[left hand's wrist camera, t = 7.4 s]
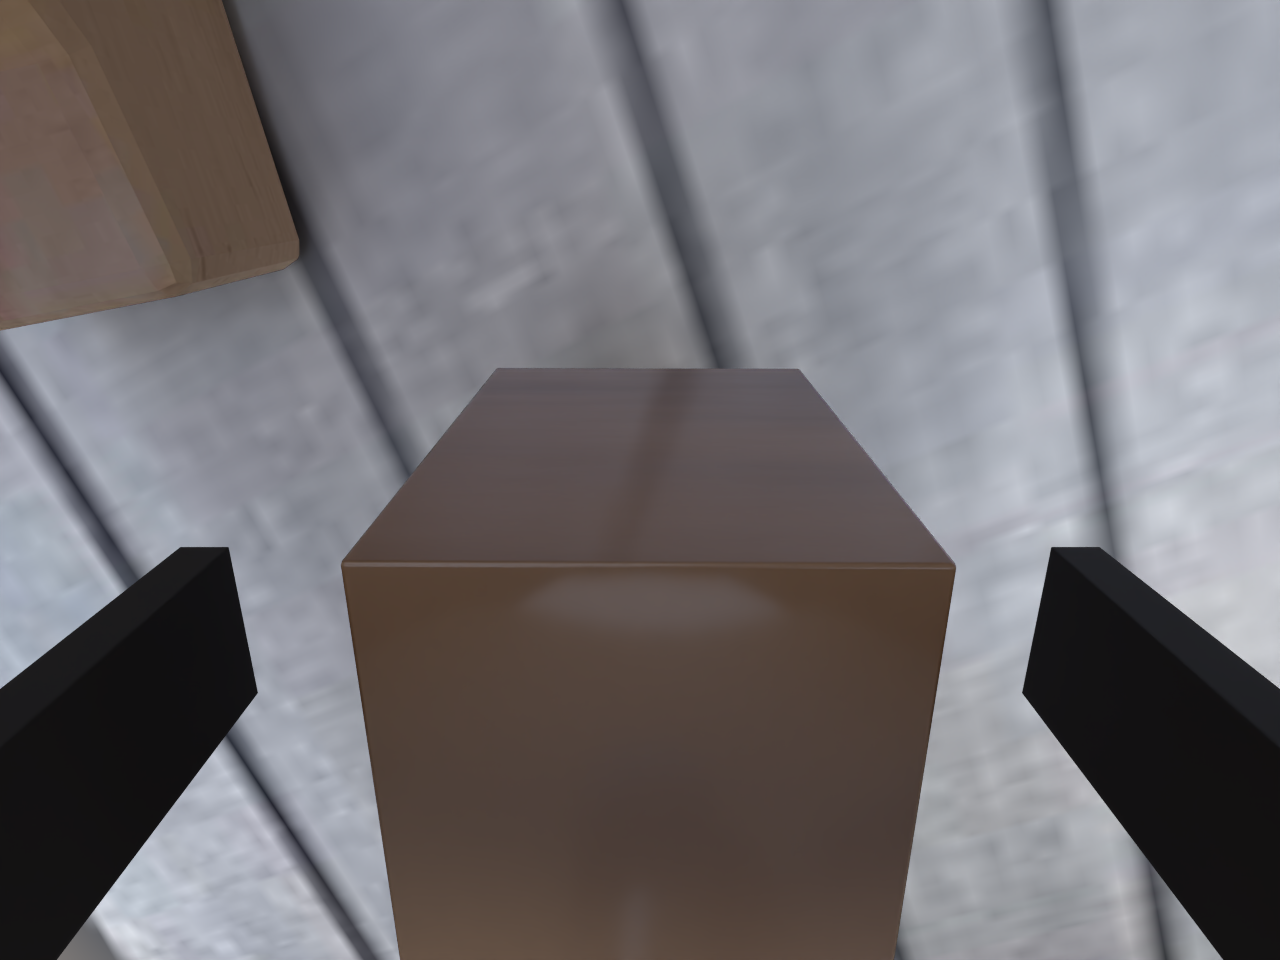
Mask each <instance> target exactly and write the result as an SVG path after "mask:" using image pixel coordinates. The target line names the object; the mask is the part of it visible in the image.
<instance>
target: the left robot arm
mask: <svg viewBox="0 0 1280 960" xmlns="http://www.w3.org/2000/svg"><path fill="white" fill-rule="evenodd" d="M257 693H258V692H257V687H256V682H255V677H254V672H253V667H252V662H251V657H250V652H249V647H248V642H247V637H246V632H245V627H244V622H243V617H242V612H241V607H240V602H239V597H238V592H237V587H236V582H235V577H234V572H233V567H232V562H231V557H230V552H229V547H180V548H179V549H178V550H176V551H175V552H174V553H173V554H171V555H170V556H169V557H167V558H166V559H165V560H164V561H162V562H161V563H160V564H159V565H157V566H156V567H155V568H153V569H152V570H151V571H150V572H148V573H147V574H146V575H145V576H143V577H142V578H141V579H139V580H138V581H137V582H136V583H134V584H133V585H132V586H131V587H129V588H128V589H127V590H125V591H124V592H123V593H122V594H120V595H119V596H118V597H117V598H115V599H114V600H113V601H111V602H110V603H109V604H108V605H106V606H105V607H104V608H103V609H101V610H100V611H99V612H98V613H96V614H95V615H94V616H92V617H91V618H90V619H89V620H87V621H86V622H85V623H84V624H82V625H81V626H80V627H78V628H77V629H76V630H75V631H73V632H72V633H71V634H70V635H68V636H67V637H66V638H64V639H63V640H62V641H61V642H59V643H58V644H57V645H56V646H54V647H53V648H52V649H50V650H49V651H48V652H47V653H45V654H44V655H43V656H42V657H40V658H39V659H38V660H37V661H35V662H34V663H33V664H31V665H30V666H29V667H28V668H26V669H25V670H24V671H23V672H21V673H20V674H19V675H17V676H16V677H15V678H14V679H12V680H11V681H10V682H9V683H7V684H6V685H5V686H3V687H2V688H1V689H0V960H57V959H58V957H59V956H60V955H61V953H62V952H63V951H64V949H65V948H66V947H67V945H68V944H69V943H70V941H71V940H72V939H73V937H74V936H75V935H76V933H77V932H78V931H79V929H80V928H81V927H82V925H83V924H84V923H85V922H86V920H87V919H88V918H89V916H90V915H91V914H92V912H93V911H94V910H95V908H96V907H97V906H98V904H99V903H100V902H101V900H102V899H103V898H104V896H105V895H106V894H107V892H108V891H109V890H110V888H111V887H112V886H113V884H114V883H115V882H116V880H117V879H118V878H119V876H120V875H121V874H122V872H123V871H124V870H125V868H126V867H127V866H128V864H129V863H130V862H131V860H132V859H133V858H134V856H135V855H136V854H137V853H138V851H139V850H140V849H141V847H142V846H143V845H144V843H145V842H146V841H147V839H148V838H149V837H150V835H151V834H152V833H153V831H154V830H155V829H156V827H157V826H158V825H159V823H160V822H161V821H162V819H163V818H164V817H165V815H166V814H167V813H168V811H169V810H170V809H171V807H172V806H173V805H174V803H175V802H176V801H177V799H178V798H179V797H180V795H181V794H182V793H183V791H184V790H185V789H186V787H187V786H188V785H189V784H190V782H191V781H192V780H193V778H194V777H195V776H196V774H197V773H198V772H199V770H200V769H201V768H202V766H203V765H204V764H205V762H206V761H207V760H208V758H209V757H210V756H211V754H212V753H213V752H214V750H215V749H216V748H217V746H218V745H219V744H220V742H221V741H222V740H223V738H224V737H225V736H226V734H227V733H228V732H229V730H230V729H231V728H232V726H233V725H234V724H235V722H236V721H237V720H238V718H239V717H240V716H241V715H242V713H243V712H244V711H245V709H246V708H247V707H248V705H249V704H250V703H251V701H252V700H253V699H254V697H255V696H256V695H257ZM1022 693H1023V695H1024V696H1025V697H1026V699H1027V700H1028V701H1029V703H1030V704H1031V705H1032V707H1033V708H1034V709H1035V711H1036V712H1037V713H1038V715H1039V716H1040V717H1041V718H1042V720H1043V721H1044V722H1045V724H1046V725H1047V726H1048V728H1049V729H1050V730H1051V732H1052V733H1053V734H1054V736H1055V737H1056V738H1057V740H1058V741H1059V742H1060V744H1061V745H1062V746H1063V748H1064V749H1065V750H1066V752H1067V753H1068V754H1069V756H1070V757H1071V758H1072V760H1073V761H1074V762H1075V764H1076V765H1077V766H1078V768H1079V769H1080V770H1081V772H1082V773H1083V774H1084V776H1085V777H1086V778H1087V780H1088V781H1089V782H1090V784H1091V785H1092V786H1093V787H1094V789H1095V790H1096V791H1097V793H1098V794H1099V795H1100V797H1101V798H1102V799H1103V801H1104V802H1105V803H1106V805H1107V806H1108V807H1109V809H1110V810H1111V811H1112V813H1113V814H1114V815H1115V817H1116V818H1117V819H1118V821H1119V822H1120V823H1121V825H1122V826H1123V827H1124V829H1125V830H1126V831H1127V833H1128V834H1129V835H1130V837H1131V838H1132V839H1133V841H1134V842H1135V843H1136V845H1137V846H1138V847H1139V849H1140V850H1141V851H1142V853H1143V854H1144V855H1145V856H1146V858H1147V859H1148V860H1149V862H1150V863H1151V864H1152V866H1153V867H1154V868H1155V870H1156V871H1157V872H1158V874H1159V875H1160V876H1161V878H1162V879H1163V880H1164V882H1165V883H1166V884H1167V886H1168V887H1169V888H1170V890H1171V891H1172V892H1173V894H1174V895H1175V896H1176V898H1177V899H1178V900H1179V902H1180V903H1181V904H1182V906H1183V907H1184V908H1185V910H1186V911H1187V912H1188V914H1189V915H1190V916H1191V918H1192V919H1193V920H1194V922H1195V923H1196V924H1197V925H1198V927H1199V928H1200V929H1201V931H1202V932H1203V933H1204V935H1205V936H1206V937H1207V939H1208V940H1209V941H1210V943H1211V944H1212V945H1213V947H1214V948H1215V949H1216V951H1217V952H1218V953H1219V955H1220V956H1221V957H1222V959H1223V960H1280V689H1279V688H1278V687H1277V686H1275V685H1274V684H1273V683H1271V682H1270V681H1269V680H1268V679H1266V678H1265V677H1264V676H1263V675H1261V674H1260V673H1259V672H1257V671H1256V670H1255V669H1254V668H1252V667H1251V666H1250V665H1249V664H1247V663H1246V662H1245V661H1243V660H1242V659H1241V658H1240V657H1238V656H1237V655H1236V654H1235V653H1233V652H1232V651H1231V650H1230V649H1228V648H1227V647H1226V646H1224V645H1223V644H1222V643H1221V642H1219V641H1218V640H1217V639H1216V638H1214V637H1213V636H1212V635H1210V634H1209V633H1208V632H1207V631H1205V630H1204V629H1203V628H1202V627H1200V626H1199V625H1198V624H1196V623H1195V622H1194V621H1193V620H1191V619H1190V618H1189V617H1188V616H1186V615H1185V614H1184V613H1182V612H1181V611H1180V610H1179V609H1177V608H1176V607H1175V606H1174V605H1172V604H1171V603H1170V602H1169V601H1167V600H1166V599H1165V598H1163V597H1162V596H1161V595H1160V594H1158V593H1157V592H1156V591H1155V590H1153V589H1152V588H1151V587H1149V586H1148V585H1147V584H1146V583H1144V582H1143V581H1142V580H1141V579H1139V578H1138V577H1137V576H1135V575H1134V574H1133V573H1132V572H1130V571H1129V570H1128V569H1127V568H1125V567H1124V566H1123V565H1121V564H1120V563H1119V562H1118V561H1116V560H1115V559H1114V558H1113V557H1111V556H1110V555H1109V554H1107V553H1106V552H1105V551H1104V550H1102V549H1101V548H1100V547H1051V552H1050V557H1049V562H1048V567H1047V572H1046V577H1045V582H1044V587H1043V592H1042V597H1041V602H1040V607H1039V612H1038V617H1037V622H1036V627H1035V632H1034V637H1033V642H1032V647H1031V652H1030V657H1029V662H1028V667H1027V672H1026V677H1025V682H1024V687H1023V692H1022Z"/></svg>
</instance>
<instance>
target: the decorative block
mask: <svg viewBox="0 0 1280 960" xmlns="http://www.w3.org/2000/svg"><path fill="white" fill-rule="evenodd" d="M298 257H299V238H298V235H297V232H296V229H295V226H294V223H293V220H292V217H291V213H290V210H289V207H288V204H287V201H286V198H285V195H284V192H283V189H282V186H281V183H280V179H279V176H278V173H277V170H276V167H275V164H274V161H273V158H272V155H271V152H270V149H269V146H268V142H267V139H266V136H265V133H264V130H263V127H262V124H261V121H260V118H259V115H258V111H257V108H256V105H255V102H254V99H253V96H252V93H251V90H250V87H249V84H248V80H247V77H246V74H245V71H244V68H243V65H242V62H241V59H240V56H239V52H238V49H237V46H236V43H235V40H234V37H233V34H232V31H231V28H230V24H229V21H228V18H227V15H226V12H225V9H224V6H223V3H222V0H0V330H5V329H10V328H16V327H21V326H26V325H31V324H36V323H42V322H47V321H52V320H57V319H62V318H67V317H73V316H78V315H83V314H88V313H93V312H98V311H104V310H109V309H114V308H119V307H124V306H129V305H135V304H140V303H145V302H150V301H155V300H160V299H166V298H171V297H176V296H180V295H184V294H188V293H192V292H196V291H200V290H204V289H208V288H212V287H216V286H219V285H223V284H227V283H231V282H235V281H239V280H243V279H247V278H251V277H255V276H259V275H263V274H267V273H271V272H275V271H279V270H283V269H285V268H286V267H287V266H289V265H290V264H291V263H293V262H294V261H295V260H297V259H298Z"/></svg>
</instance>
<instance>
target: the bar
mask: <svg viewBox="0 0 1280 960" xmlns="http://www.w3.org/2000/svg"><path fill="white" fill-rule="evenodd" d="M341 569H342V575H343V582H344V589H345V595H346V602H347V608H348V615H349V622H350V628H351V635H352V642H353V648H354V655H355V662H356V668H357V675H358V682H359V688H360V695H361V702H362V708H363V715H364V722H365V728H366V735H367V742H368V748H369V755H370V762H371V768H372V775H373V782H374V788H375V795H376V802H377V808H378V815H379V821H380V828H381V835H382V841H383V848H384V855H385V861H386V868H387V875H388V881H389V888H390V895H391V901H392V908H393V915H394V921H395V928H396V935H397V941H398V948H399V955H400V960H894V956H895V950H896V943H897V937H898V931H899V924H900V918H901V912H902V905H903V899H904V893H905V886H906V880H907V874H908V868H909V861H910V855H911V849H912V842H913V836H914V830H915V823H916V817H917V811H918V805H919V798H920V792H921V786H922V779H923V773H924V767H925V760H926V754H927V748H928V742H929V735H930V729H931V723H932V716H933V710H934V704H935V697H936V691H937V685H938V679H939V672H940V666H941V660H942V653H943V647H944V641H945V634H946V628H947V622H948V615H949V609H950V603H951V597H952V590H953V584H954V578H955V571H956V565H955V563H954V562H953V560H952V559H951V558H950V557H949V555H948V554H947V553H946V552H945V550H944V549H943V548H942V547H941V546H940V544H939V543H938V542H937V541H936V539H935V538H934V537H933V536H932V534H931V533H930V532H929V531H928V529H927V528H926V527H925V526H924V524H923V523H922V522H921V521H920V519H919V518H918V517H917V516H916V514H915V513H914V512H913V511H912V509H911V508H910V507H909V506H908V504H907V503H906V502H905V501H904V499H903V498H902V497H901V496H900V494H899V493H898V492H897V491H896V489H895V488H894V487H893V486H892V484H891V483H890V482H889V481H888V479H887V478H886V477H885V476H884V474H883V473H882V472H881V471H880V469H879V468H878V467H877V466H876V464H875V463H874V462H873V461H872V459H871V458H870V457H869V456H868V454H867V453H866V452H865V451H864V449H863V448H862V447H861V446H860V444H859V443H858V442H857V441H856V439H855V438H854V437H853V436H852V434H851V433H850V432H849V431H848V430H847V428H846V427H845V426H844V425H843V423H842V422H841V421H840V420H839V418H838V417H837V416H836V415H835V413H834V412H833V411H832V410H831V408H830V407H829V406H828V405H827V403H826V402H825V401H824V400H823V398H822V397H821V396H820V395H819V393H818V392H817V391H816V390H815V388H814V387H813V386H812V385H811V383H810V382H809V381H808V380H807V378H806V377H805V376H804V375H803V373H802V372H801V371H800V370H799V369H583V368H498V369H496V370H495V371H494V373H493V374H492V375H491V376H490V378H489V379H488V380H487V381H486V383H485V384H484V385H483V386H482V388H481V389H480V390H479V391H478V392H477V394H476V395H475V396H474V397H473V399H472V400H471V401H470V402H469V404H468V405H467V406H466V407H465V409H464V410H463V411H462V412H461V414H460V415H459V416H458V417H457V419H456V420H455V421H454V422H453V424H452V425H451V426H450V427H449V429H448V430H447V431H446V432H445V434H444V435H443V436H442V437H441V439H440V440H439V441H438V442H437V444H436V445H435V446H434V447H433V449H432V450H431V451H430V452H429V454H428V455H427V456H426V457H425V458H424V460H423V461H422V462H421V463H420V465H419V466H418V467H417V468H416V470H415V471H414V472H413V473H412V475H411V476H410V477H409V478H408V480H407V481H406V482H405V483H404V485H403V486H402V487H401V488H400V490H399V491H398V492H397V493H396V495H395V496H394V497H393V498H392V500H391V501H390V502H389V503H388V505H387V506H386V507H385V508H384V510H383V511H382V512H381V513H380V515H379V516H378V517H377V518H376V519H375V521H374V522H373V523H372V524H371V526H370V527H369V528H368V529H367V531H366V532H365V533H364V534H363V536H362V537H361V538H360V539H359V541H358V542H357V543H356V544H355V546H354V547H353V548H352V549H351V551H350V552H349V553H348V554H347V556H346V557H345V558H344V559H343V561H342V563H341Z"/></svg>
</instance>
